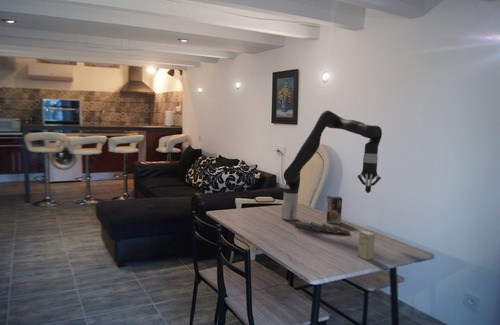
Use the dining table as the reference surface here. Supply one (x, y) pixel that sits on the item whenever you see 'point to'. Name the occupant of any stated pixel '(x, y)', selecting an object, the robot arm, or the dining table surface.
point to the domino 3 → (317, 226)
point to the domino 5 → (341, 229)
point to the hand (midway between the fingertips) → (367, 192)
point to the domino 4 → (328, 228)
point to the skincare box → (366, 245)
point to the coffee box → (333, 209)
